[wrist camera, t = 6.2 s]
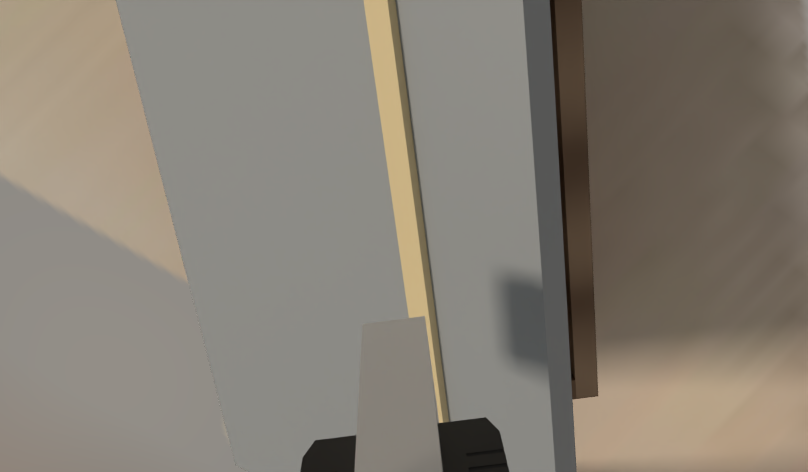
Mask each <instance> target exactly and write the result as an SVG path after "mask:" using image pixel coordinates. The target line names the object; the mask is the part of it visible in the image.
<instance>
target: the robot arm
mask: <svg viewBox="0 0 808 472" xmlns="http://www.w3.org/2000/svg"><path fill="white" fill-rule="evenodd" d="M300 472H509V468H508V464H507V460H506V455H505V452H504V447H503V443H502V439H501V434H500V431H499V430H498V429H497V428H496V427H495V426H494V425H493V424H492V423H491V422H490V421H489V420H488V419H487V418H486V417H484V418H476V419H468V420H460V421H452V422H444V423H439V418H438V410H437V403H436V395H435V388H434V380H433V373H432V365H431V358H430V350H429V343H428V335H427V328H426V321H425V316H421V317H413V318H406V319H398V320H390V321H382V322H374V323H366V324H362V341H361V360H360V378H359V396H358V415H357V433H356V435H353V436H345V437H337V438H329V439H321V440H315V441H314V442H313V444H312V445H311V447H310V448H309V449H308V451H307V452H306V454H305V455H304V456H303V458H302V464H301V471H300Z"/></svg>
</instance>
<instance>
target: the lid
mask: <svg viewBox="0 0 808 472" xmlns="http://www.w3.org/2000/svg"><path fill="white" fill-rule="evenodd" d="M116 3H117V7H118V11H119V15H120V19H121V23H122V26H123V30H124V34H125V38H126V42H127V46H128V50H129V54H130V58H131V61H132V65H133V69H134V73H135V77H136V81H137V85H138V89H139V93H140V96H141V100H142V104H143V108H144V112H145V116H146V120H147V124H148V128H149V131H150V135H151V139H152V143H153V147H154V151H155V155H156V159H157V162H158V166H159V170H160V174H161V178H162V182H163V186H164V190H165V194H166V197H167V201H168V205H169V209H170V213H171V217H172V221H173V225H174V229H175V232H176V236H177V240H178V244H179V248H180V252H181V256H182V260H183V264H184V267H185V271H186V275H187V279H188V283H189V287H190V291H191V295H192V298H193V302H194V306H195V310H196V314H197V318H198V322H199V325H200V330H201V333H202V337H203V341H204V345H205V349H206V353H207V357H208V361H209V365H210V368H211V372H212V376H213V380H214V384H215V388H216V392H217V395H218V400H219V403H220V407H221V411H222V415H223V419H224V423H225V427H226V431H227V434H228V438H229V442H230V446H231V450H232V454H233V458H234V462H235V465H236V466H238V467H240V468H242V469H244V470H245V471H248V472H300V471H301V464H302V458H303V456H304V455H305V454H306V452H307V451H308V449H309V448H310V447H311V445H312V444H313V442H314V441H315V440H321V439H329V438H337V437H345V436H353V435H356V433H357V415H358V396H359V378H360V360H361V341H362V324H366V323H374V322H382V321H390V320H398V319H406V318H413V317H421V316H425V321H426V328H427V335H428V343H429V350H430V358H431V365H432V373H433V380H434V388H435V395H436V403H437V410H438V418H439V423H444V422H452V421H460V420H468V419H476V418H484V417H486V418H487V419H488V420H489V421H490V422H491V423H492V424H493V425H494V426H495V427H496V428H497V429H498V430H499V431H500V434H501V439H502V443H503V447H504V452H505V455H506V460H507V464H508V468H509V472H576V455H575V437H574V420H573V402H572V385H571V367H570V349H569V332H568V314H567V297H566V279H565V261H564V244H563V226H562V209H561V191H560V173H559V156H558V138H557V121H556V103H555V85H554V68H553V50H552V33H551V15H550V0H116Z"/></svg>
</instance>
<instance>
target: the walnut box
mask: <svg viewBox="0 0 808 472" xmlns="http://www.w3.org/2000/svg"><path fill="white" fill-rule="evenodd" d="M550 15H551V33H552V50H553V68H554V85H555V103H556V121H557V138H558V156H559V173H560V191H561V209H562V226H563V244H564V261H565V279H566V297H567V314H568V332H569V349H570V367H571V385H572V399H579V398H587V397H595V396H598V382H597V358H596V334H595V310H594V287H593V263H592V239H591V216H590V192H589V168H588V144H587V121H586V97H585V73H584V49H583V26H582V2H581V0H550Z"/></svg>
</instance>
